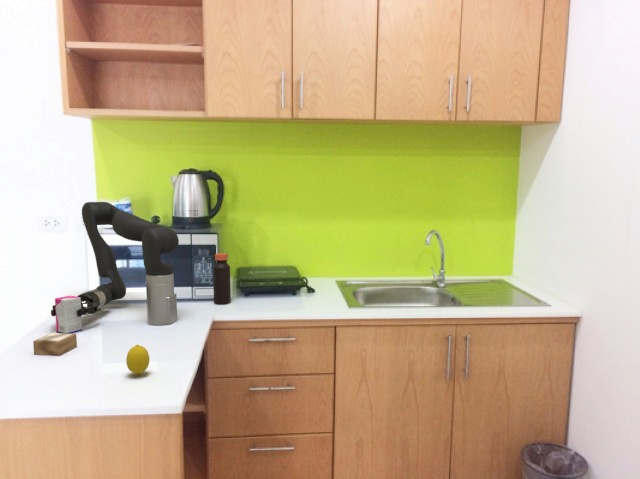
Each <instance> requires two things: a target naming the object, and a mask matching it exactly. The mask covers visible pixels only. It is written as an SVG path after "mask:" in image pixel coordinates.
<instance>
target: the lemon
mask: <svg viewBox="0 0 640 479" xmlns="http://www.w3.org/2000/svg"><path fill="white" fill-rule="evenodd" d="M125 363H126V366H127V369H128V370H129V371H130V372H131V373H133V374H136V376H140V375H141V374H142V373H144V372H145V371H146V370H147V369H148V367H149V364H150V354H149V351H148V350H147V348H146V347H144V346H142V345H140V344H135V346H132V347H131V348H130V349H129V350H128V352H127V354H126V362H125Z"/></svg>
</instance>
